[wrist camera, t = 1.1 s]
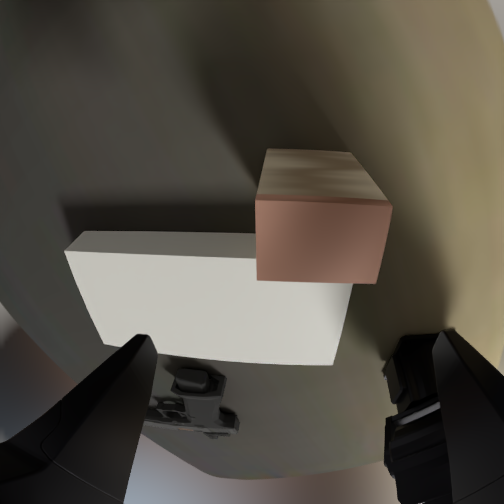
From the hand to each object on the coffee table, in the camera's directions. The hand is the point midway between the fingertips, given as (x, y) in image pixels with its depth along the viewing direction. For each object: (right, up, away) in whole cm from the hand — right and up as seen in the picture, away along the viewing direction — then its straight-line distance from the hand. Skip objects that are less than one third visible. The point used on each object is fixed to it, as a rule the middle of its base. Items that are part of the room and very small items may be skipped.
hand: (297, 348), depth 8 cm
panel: (-5, 0, +15) cm, 16 cm away
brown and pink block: (+2, +7, +10) cm, 12 cm away
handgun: (-12, -16, +27) cm, 34 cm away
